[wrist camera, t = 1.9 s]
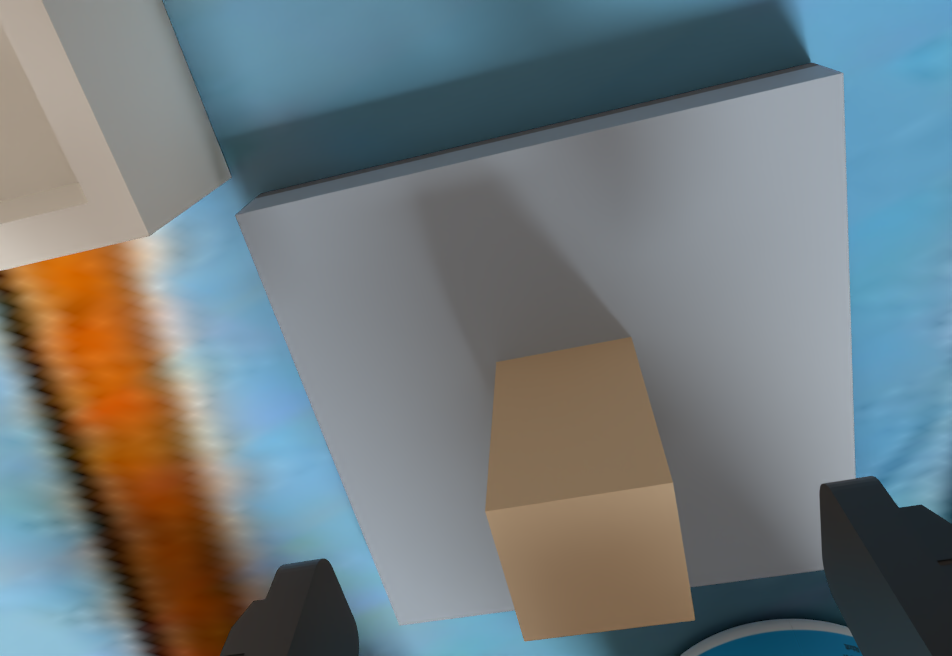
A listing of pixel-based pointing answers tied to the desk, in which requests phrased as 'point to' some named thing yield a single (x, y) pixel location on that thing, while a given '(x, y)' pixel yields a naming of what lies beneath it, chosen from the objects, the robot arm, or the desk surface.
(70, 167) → the white rectangular open box
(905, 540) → the robot arm
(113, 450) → the desk surface
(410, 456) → the lid
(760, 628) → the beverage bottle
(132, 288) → the desk surface
